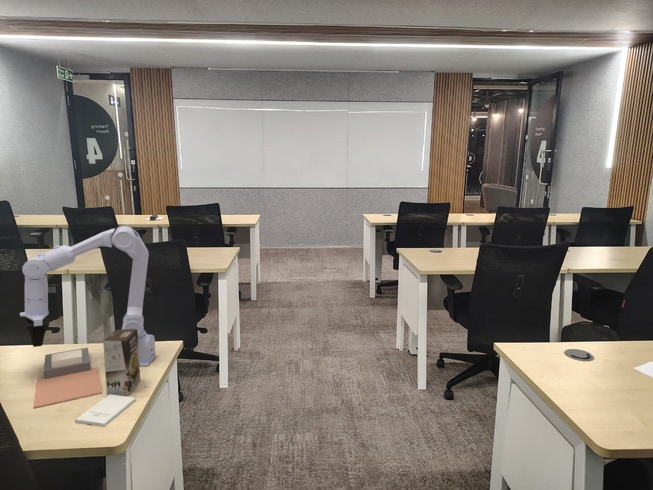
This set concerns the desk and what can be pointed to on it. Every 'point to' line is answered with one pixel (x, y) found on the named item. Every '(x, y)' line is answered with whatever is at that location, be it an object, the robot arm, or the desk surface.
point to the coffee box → (121, 362)
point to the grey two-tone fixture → (67, 369)
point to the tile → (66, 358)
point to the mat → (67, 388)
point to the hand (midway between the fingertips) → (36, 341)
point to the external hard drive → (105, 410)
